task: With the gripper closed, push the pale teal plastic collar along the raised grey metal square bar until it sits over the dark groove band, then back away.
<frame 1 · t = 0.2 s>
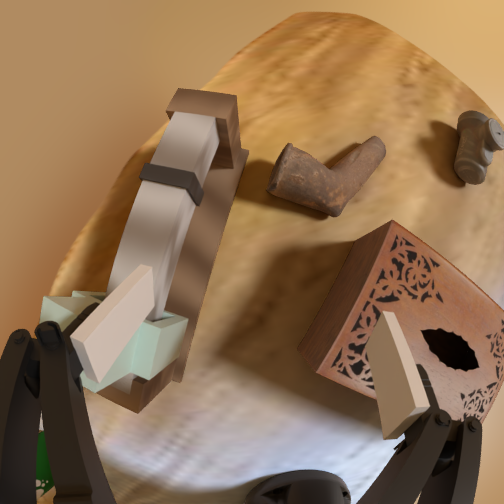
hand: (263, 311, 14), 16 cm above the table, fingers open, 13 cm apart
pipe: (325, 171, 33), on the table
sleeve: (116, 332, 18), point 12 cm above the table, slide at 0.0 cm
tissue box cover: (406, 339, 29), on the table
pipe fitting: (462, 158, 33), on the table
milk carton: (53, 452, 26), on the table
rail: (181, 254, 31), on the table
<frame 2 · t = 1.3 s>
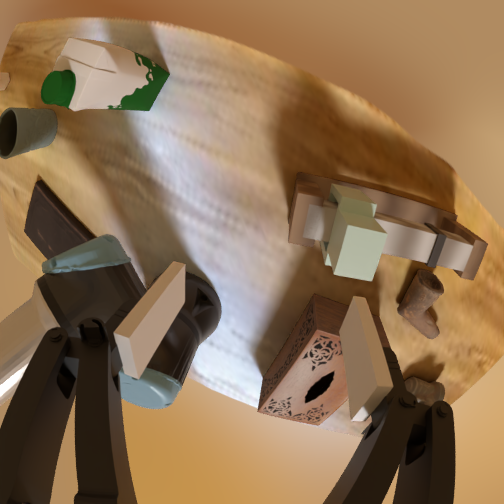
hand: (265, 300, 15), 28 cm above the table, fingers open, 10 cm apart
pipe: (423, 300, 44), on the table
salt shaker: (7, 81, 35), on the table
grey green cup: (47, 126, 40), on the table
sleeve: (348, 230, 29), point 12 cm above the table, slide at 0.0 cm
tissue box cover: (317, 351, 53), on the table
pipe fitting: (418, 381, 53), on the table
milk carton: (145, 85, 36), on the table
hardcover book: (61, 234, 51), on the table
rail: (381, 216, 39), on the table
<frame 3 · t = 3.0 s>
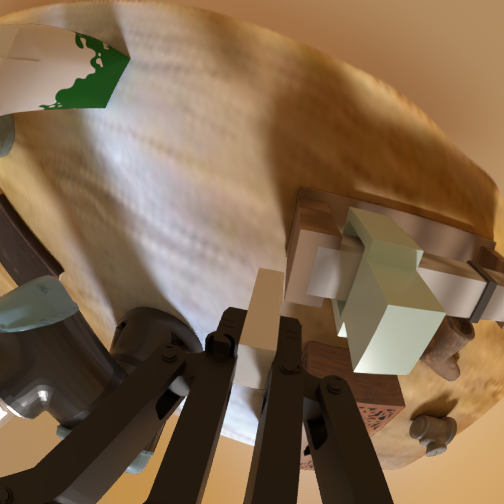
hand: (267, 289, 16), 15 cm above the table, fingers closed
pipe: (447, 340, 34), on the table
grey green cup: (6, 132, 29), on the table
sleeve: (375, 286, 19), point 12 cm above the table, slide at 0.0 cm
tissue box cover: (318, 396, 42), on the table
pipe fitting: (428, 417, 43), on the table
milk carton: (102, 75, 25), on the table
hardcover book: (26, 255, 40), on the table
rail: (408, 246, 28), on the table
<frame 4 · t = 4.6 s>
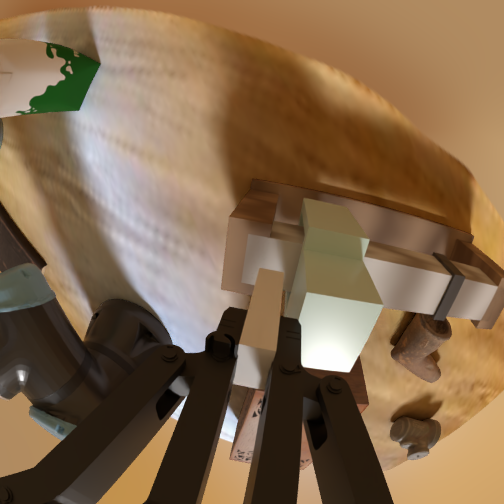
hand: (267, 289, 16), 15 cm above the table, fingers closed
pipe: (424, 339, 34), on the table
sleeve: (322, 277, 19), point 12 cm above the table, slide at 0.8 cm, touching gripper
tissue box cover: (289, 393, 42), on the table
pipe fitting: (411, 419, 43), on the table
milk carton: (76, 80, 25), on the table
hardcover book: (14, 250, 40), on the table
rail: (372, 239, 29), on the table
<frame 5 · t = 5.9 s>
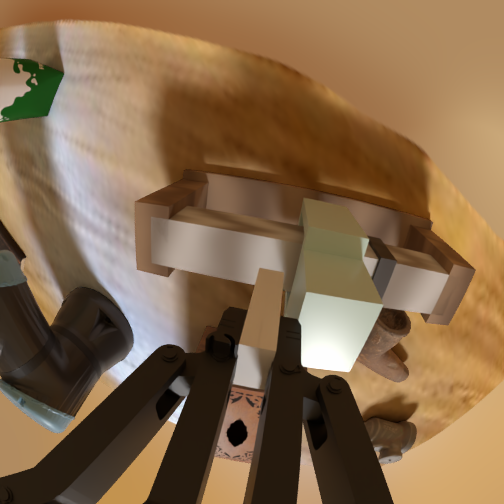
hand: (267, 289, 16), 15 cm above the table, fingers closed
pipe: (386, 335, 35), on the table
sleeve: (322, 277, 19), point 12 cm above the table, slide at 8.3 cm, touching gripper
tissue box cover: (247, 386, 43), on the table
pipe fitting: (384, 421, 44), on the table
milk carton: (46, 88, 26), on the table
rail: (309, 225, 29), on the table
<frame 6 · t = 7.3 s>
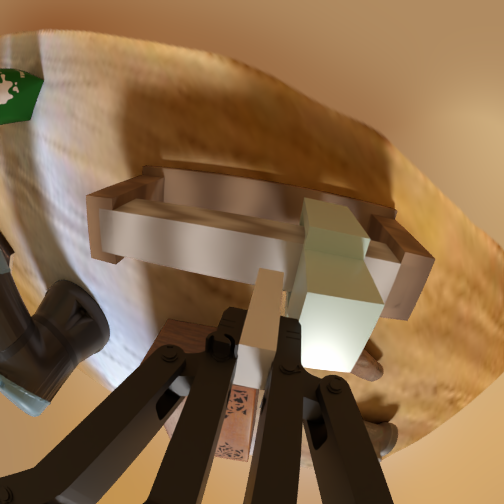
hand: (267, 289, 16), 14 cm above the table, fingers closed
pipe: (356, 332, 35), on the table
sleeve: (322, 277, 19), point 11 cm above the table, slide at 13.6 cm, touching gripper
tissue box cover: (218, 379, 43), on the table
pipe fitting: (364, 421, 44), on the table
milk carton: (29, 94, 26), on the table
rail: (262, 216, 30), on the table
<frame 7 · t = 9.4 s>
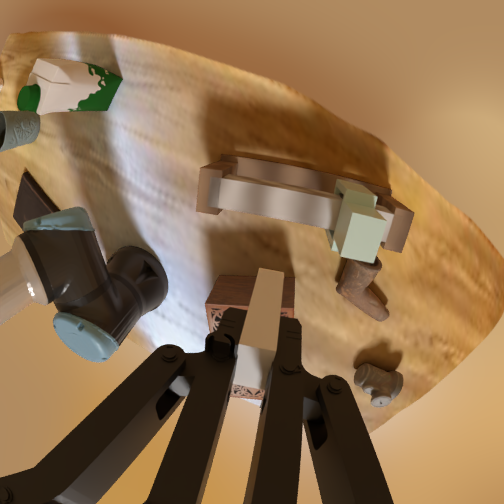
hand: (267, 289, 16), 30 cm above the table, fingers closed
pipe: (367, 280, 49), on the table
salt shaker: (1, 85, 39), on the table
grey green cup: (32, 126, 44), on the table
sleeve: (352, 220, 33), point 12 cm above the table, slide at 13.8 cm
tissue box cover: (259, 327, 57), on the table
pipe fitting: (374, 369, 58), on the table
milk carton: (104, 89, 40), on the table
hardcover book: (42, 218, 55), on the table
rail: (305, 192, 43), on the table
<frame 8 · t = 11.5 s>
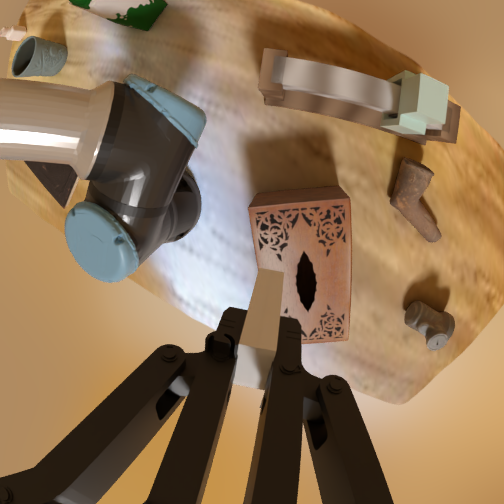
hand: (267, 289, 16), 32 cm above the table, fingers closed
pipe: (417, 197, 43), on the table
salt shaker: (23, 33, 33), on the table
grey green cup: (57, 59, 38), on the table
sleeve: (411, 102, 27), point 12 cm above the table, slide at 13.8 cm
tissue box cover: (304, 255, 51), on the table
pipe fitting: (423, 311, 52), on the table
milk carton: (146, 14, 34), on the table
hardcover book: (56, 154, 49), on the table
rail: (353, 99, 37), on the table
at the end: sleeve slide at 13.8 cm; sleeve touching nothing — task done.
